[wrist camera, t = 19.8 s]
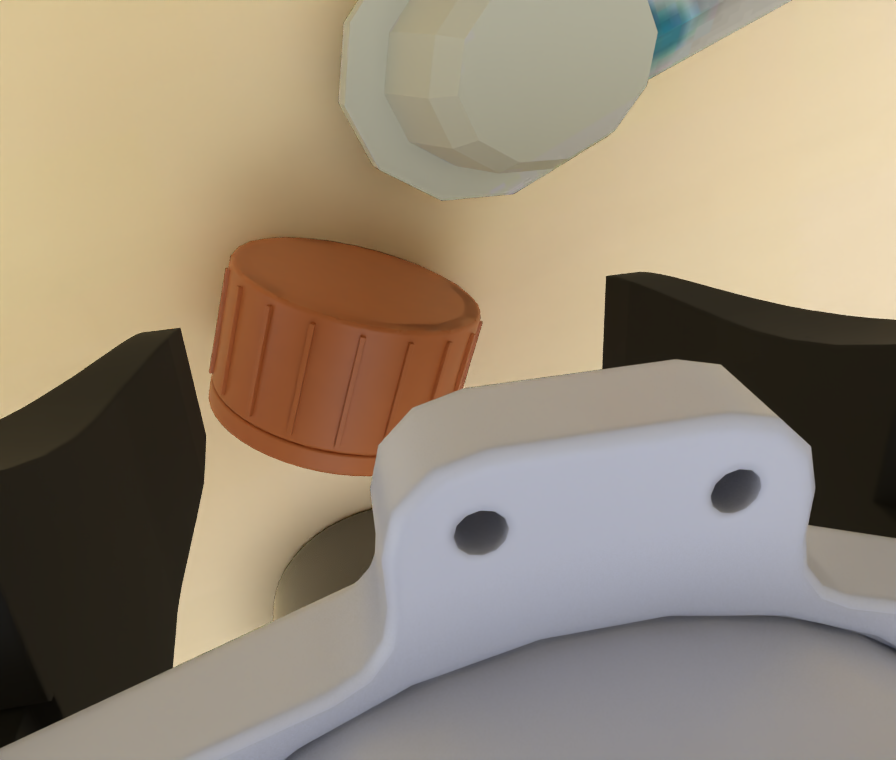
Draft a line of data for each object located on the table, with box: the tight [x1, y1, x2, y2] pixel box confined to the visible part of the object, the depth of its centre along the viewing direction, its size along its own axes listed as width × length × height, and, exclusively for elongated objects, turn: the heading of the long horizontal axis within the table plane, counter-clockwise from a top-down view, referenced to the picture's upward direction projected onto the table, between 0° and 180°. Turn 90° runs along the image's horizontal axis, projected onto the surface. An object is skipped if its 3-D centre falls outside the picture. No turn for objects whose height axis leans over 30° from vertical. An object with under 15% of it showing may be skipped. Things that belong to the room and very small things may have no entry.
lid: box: [209, 237, 482, 476], centre depth 18 cm, size 6×6×3 cm
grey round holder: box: [273, 509, 376, 621], centre depth 23 cm, size 8×8×7 cm
